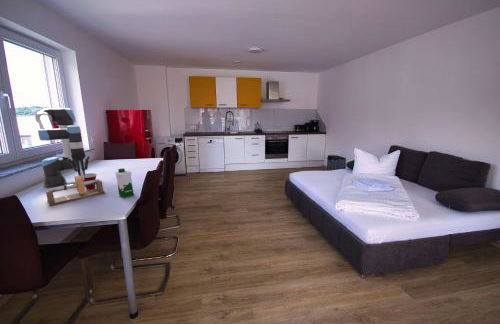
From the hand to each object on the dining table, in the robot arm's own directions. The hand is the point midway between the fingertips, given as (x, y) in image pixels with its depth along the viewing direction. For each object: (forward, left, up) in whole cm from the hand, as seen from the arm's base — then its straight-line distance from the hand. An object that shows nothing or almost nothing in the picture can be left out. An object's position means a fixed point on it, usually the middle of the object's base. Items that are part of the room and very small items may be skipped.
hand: (82, 179), depth 167 cm
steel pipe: (0, -5, -5) cm, 7 cm away
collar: (0, -2, -9) cm, 9 cm away
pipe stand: (0, -5, -12) cm, 13 cm away
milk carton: (+24, +20, -13) cm, 34 cm away
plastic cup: (-15, +7, -13) cm, 21 cm away
